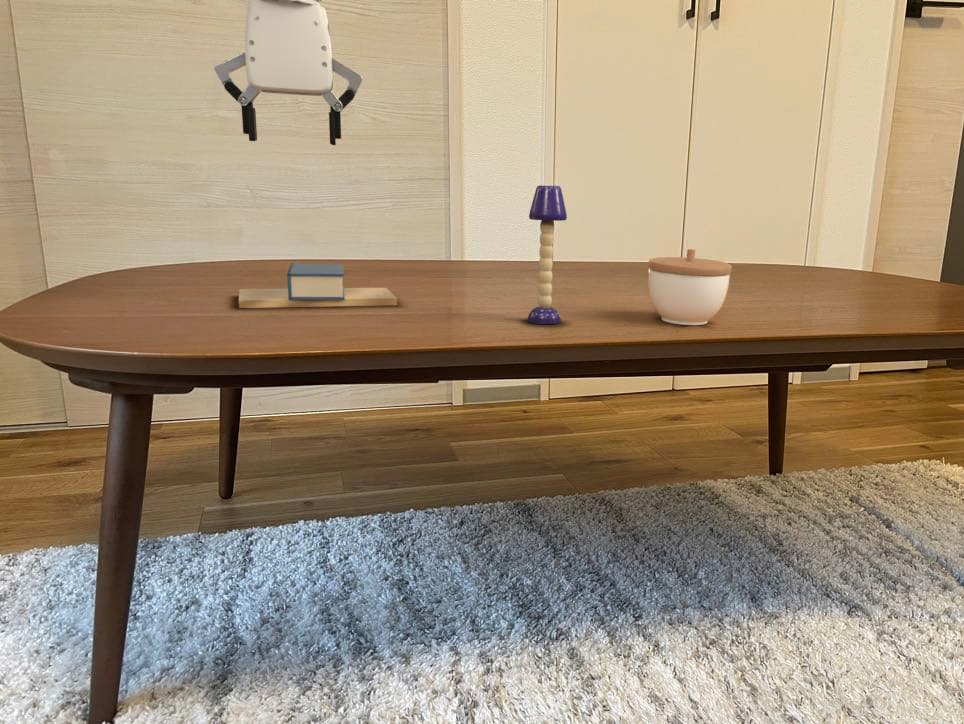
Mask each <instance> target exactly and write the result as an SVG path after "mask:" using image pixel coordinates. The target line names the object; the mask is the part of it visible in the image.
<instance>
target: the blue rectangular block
mask: <svg viewBox="0 0 964 724" xmlns="http://www.w3.org/2000/svg"><path fill="white" fill-rule="evenodd" d="M286 276H287V278H286V279H287V289H288V298H289V300H345V298H344V288H345V287H344V285H343V277H345V271H344V264H343V263H307V262H306V263H305V262H304V263H302V262H301V263H300V262H299V263H298V262H296V263H294V262H291V263H290V265H289V267H288V270H287V273H286Z"/></svg>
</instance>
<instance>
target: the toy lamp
mask: <svg viewBox="0 0 964 724" xmlns="http://www.w3.org/2000/svg"><path fill="white" fill-rule="evenodd" d="M534 191H535V192H534V195H533V199H532V202H531V206H530V211H529V214H528V218H529V220H531V221H540V225H539V230H540V236H539V243H540V246H539V249H538V250H539V257H540V258H539V261H538V269H539V272H538V281H539V285H538V294H539V297H538V301H537V303H538V306H536V307H534V308H532V309H531V310H530V312H529V313H528V316H527V322H528V323H530V324H534V325H556V324H560V323H561V322H562V320H561V316H560V313H559V312H558V310H557V309H556V308H554V307H552V305H553V299H552V298H553V297H552V293H553V284H552V282H553V278H554V277H553V275H554V274H553V272H552V270H553V265H554V263H553V262H554V261H553V255H554V247H553V244H554V233H553V232H554V230H555V221H556V222H558V221H563V222H564V221H567V218H568V215H567V209H566V205H565V200H564V195H563V190H562V187H561V186H559V185H537V186H536V188H535V190H534Z"/></svg>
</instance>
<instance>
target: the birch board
mask: <svg viewBox="0 0 964 724" xmlns="http://www.w3.org/2000/svg"><path fill="white" fill-rule="evenodd" d="M343 288H344V298H345V300H289V298H288V288H239V290H238V308H239V309H262V308H263V309H264V308H265V309H266V308H267V309H268V308H270V309H271V308H320V307H321V308H325V307H326V308H327V307H328V308H329V307H333V308H334V307H382V306H383V307H384V306H385V307H387V306H389V307H390V306H398V298H397V297H396V295H394V293H393V292H392V291H390V289H389V288H387V287H343Z"/></svg>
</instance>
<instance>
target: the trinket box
mask: <svg viewBox="0 0 964 724" xmlns="http://www.w3.org/2000/svg"><path fill="white" fill-rule="evenodd" d="M647 268H648V278H647V279H648V280H647V285H648V287H647V288H648V296H649V300H650V303H651V305H652V308H653V309H654V311H656V312H657V314H658V315H659V316H660V317H661V318H660V319H661V321H663V322H665V323H669V324H674V325H681V326H702V325H707V324H708V322H709V320H710V319H712V318H713V317H714V316H715V315H716V314H717V313H718V312H719V311H720V310H721V308H722V306H723V305H724V303H725V300H726V297H727V294H728V290H729V286H730V281H731V280H730V279H731V273H732V270H733V266H732V264H730V263H728V262H725V261H720V260H716V259H706V258H696V249H694V248H693V249H692V248H687V250H686V257H681V256H680V257H677V256H675V257H674V256H665V257H664V256H662V257H654V258H650V259H649V260H648V267H647Z"/></svg>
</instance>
